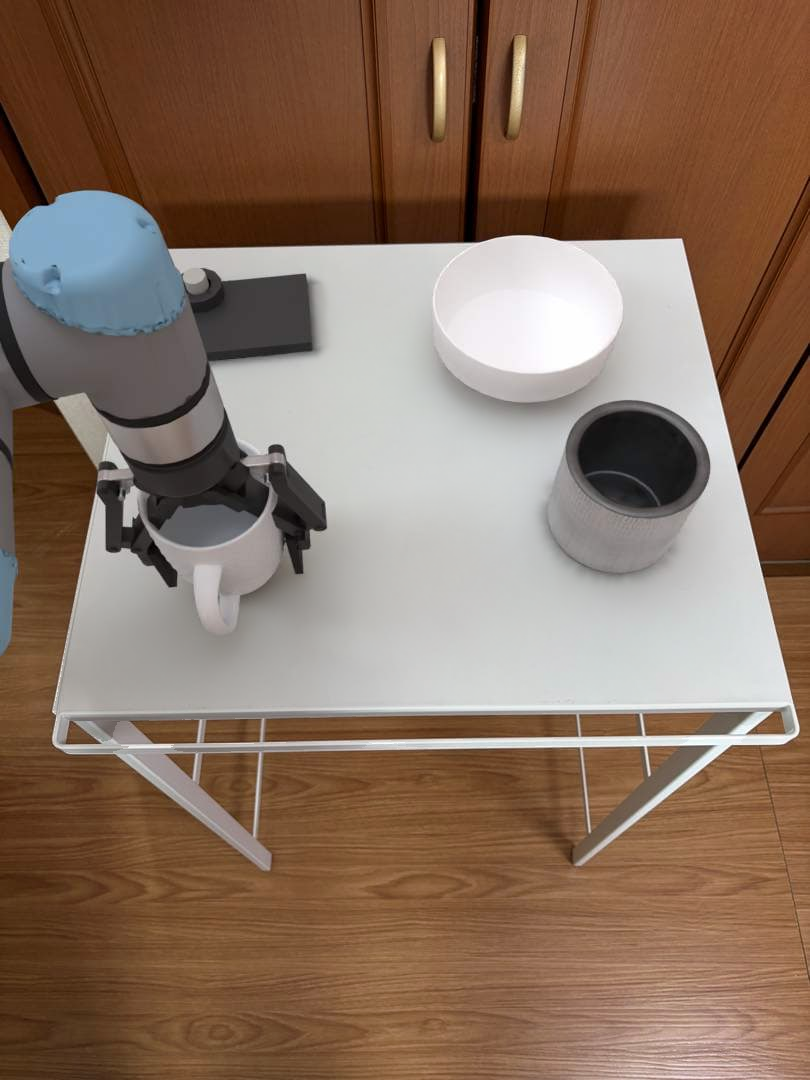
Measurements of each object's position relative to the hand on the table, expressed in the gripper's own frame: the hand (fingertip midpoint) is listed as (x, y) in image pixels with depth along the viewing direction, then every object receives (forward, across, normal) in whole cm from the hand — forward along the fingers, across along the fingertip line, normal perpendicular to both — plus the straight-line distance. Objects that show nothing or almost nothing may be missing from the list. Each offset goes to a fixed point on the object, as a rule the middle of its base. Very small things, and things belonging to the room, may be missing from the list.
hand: (236, 567), depth 69 cm
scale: (+3, -1, -34) cm, 34 cm away
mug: (+1, 0, 0) cm, 1 cm away
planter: (+2, -36, -2) cm, 37 cm away
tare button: (0, +4, -37) cm, 37 cm away
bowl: (+2, -31, -24) cm, 40 cm away
